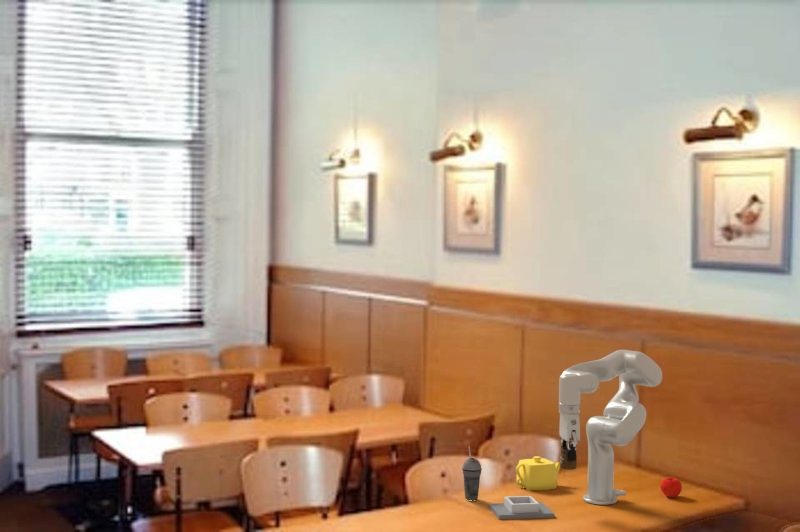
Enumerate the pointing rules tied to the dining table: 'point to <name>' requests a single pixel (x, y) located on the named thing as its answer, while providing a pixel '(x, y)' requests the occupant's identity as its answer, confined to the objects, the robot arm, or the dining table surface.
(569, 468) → the utensil holder
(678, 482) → the apple
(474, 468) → the beverage cup
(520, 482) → the teapot
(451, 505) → the dining table surface
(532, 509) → the dock
